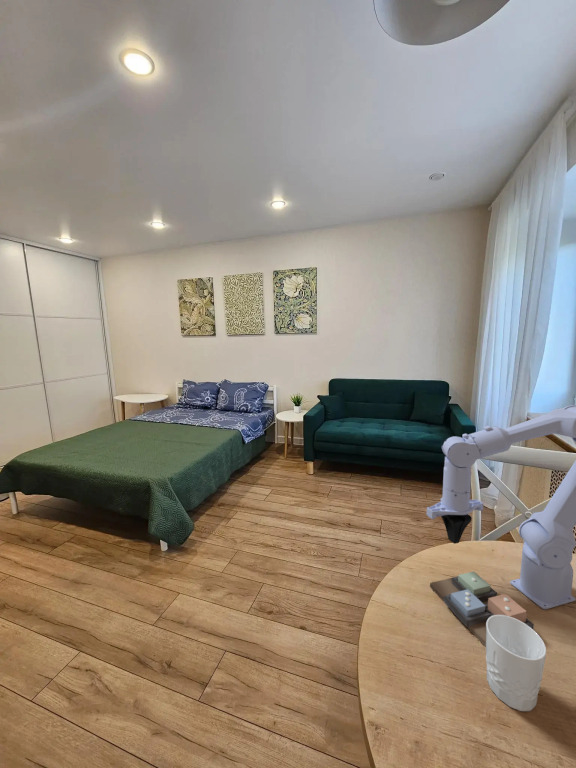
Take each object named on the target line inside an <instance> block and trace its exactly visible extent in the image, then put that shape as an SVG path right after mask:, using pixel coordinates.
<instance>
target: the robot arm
mask: <svg viewBox="0 0 576 768" xmlns="http://www.w3.org/2000/svg"><path fill="white" fill-rule="evenodd" d="M549 435H559V436H565V437H569V438H571V439H572V440H573V442H574V444H575V445H576V404H573V405H572V404H571V405H567V406H564V407H563V408H562V407H561V408H556V409H552V410H551V411H549V412H547V413H546V414H542V415H540V416H537V417H533V418H532V419H528V420H526V421H523V422H519V423H518V424H514V425H511V426H509V427H506V428H501V427H499V426H490V425H486V426H483V429H482V430H479V431H476V432H472V433H469V434H468V433H463V434H462V437H461V436H454V435H453V436H451V437H448V438H447V439H446V440H444V442H443V444H442V445H441V450H442V452H443V453H442V454H444V455H445V456H444V466H443V478H442V479H443V480H442V497H440V501H439V502H436V503H435V504H433V505H431V506H427V507H426V516H427V517H428V518H430V519H431V520H436V518H437V517H441V519H442V522H443V524H444V526H445V530H446V534H447V539H448V540H449V541H450V542H451V543H453V545H454V544H459V543H460V541H461V538H462V536H463V533H464V531H465V529H466V528H467V527H468V525H469V524H470V523H471V522H472V521H473V520H472V519H473V518H472V516H471V515H470V513H472V512H473V511H479V512H481V511H484V502H482V501H481V500H478V499H477V498H475V499H471V486H472V466H473V465H474V464H475V463H476V462H477V461H478V460H479V459H483V458H486V457H489V456H493V455H497V454H500V453H504V452H507V451H509V450H510V448H511V446H512V445H513V444H515V443H519V442H524V441H528V440H532V439H536V438H541V437H544V436H545V437H546V436H549ZM575 526H576V459H575V461H574V462H573V464H572V466H571V467H570V469H569V470H568V471H567V473H566V475H565V476H564V478H563V479H562V481H561V483H560V484H559V485H558V487H557V488H556V490H555V492H554V493H553V495H552V497H551V498H550V500H549V501H548V503H547V505H546V506H545V507H544V509H543V510H542V511H536V512H533V513H532V514H531V516H530V517H529V518H527V519H526V520H524V521H523V522H522V523H520V525H519V527H518V534H519V536H520V538H521V539H522V540H523V546H522V552H521V561H520V563H521V564H520V573H519V574H520V576H519V578H517V579H516V578H515V579H513V580H510V581H509V583H510V585H511V586H513V587H514V588H515V589H517V590H518V591H519V592H520V593H522V594H524V595H523V596H526V597H527V598H528V599H529V600H531V601H532V602H533V603H534V604H536V605H537V606H538V607H540V609H543V610H547V609H551V608H554V607H558V606H559V607H560V606H562V605H566V604H568V603H572V602H575V601H576V597H574V596H573V595H572V592H573V591H572V589H573V581H574V569H573V566H572V564H571V562H572V560H573V551H574V550H575V549H574V548H575V547H576V539H575V538H576V537H575V534H574V528H575Z"/></svg>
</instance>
